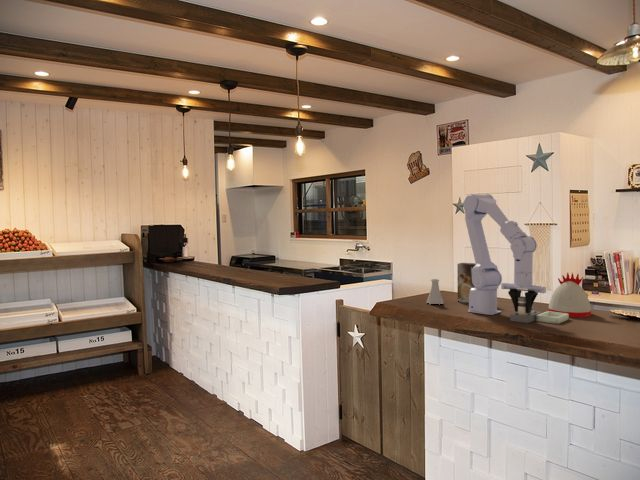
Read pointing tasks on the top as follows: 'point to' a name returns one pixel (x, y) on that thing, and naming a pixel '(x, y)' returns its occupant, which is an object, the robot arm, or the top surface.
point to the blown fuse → (522, 306)
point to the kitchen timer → (570, 298)
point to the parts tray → (552, 317)
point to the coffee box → (464, 281)
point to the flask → (435, 293)
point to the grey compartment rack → (522, 318)
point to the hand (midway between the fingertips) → (522, 312)
